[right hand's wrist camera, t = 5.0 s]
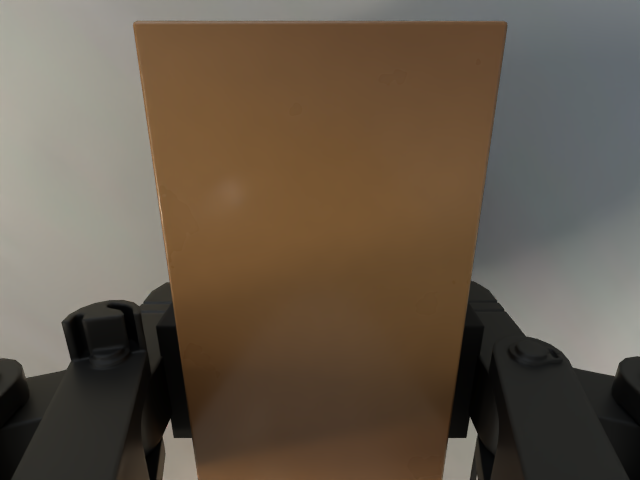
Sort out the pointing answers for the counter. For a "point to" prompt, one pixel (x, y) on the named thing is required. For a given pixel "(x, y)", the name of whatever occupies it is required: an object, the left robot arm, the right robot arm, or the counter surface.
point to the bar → (320, 234)
